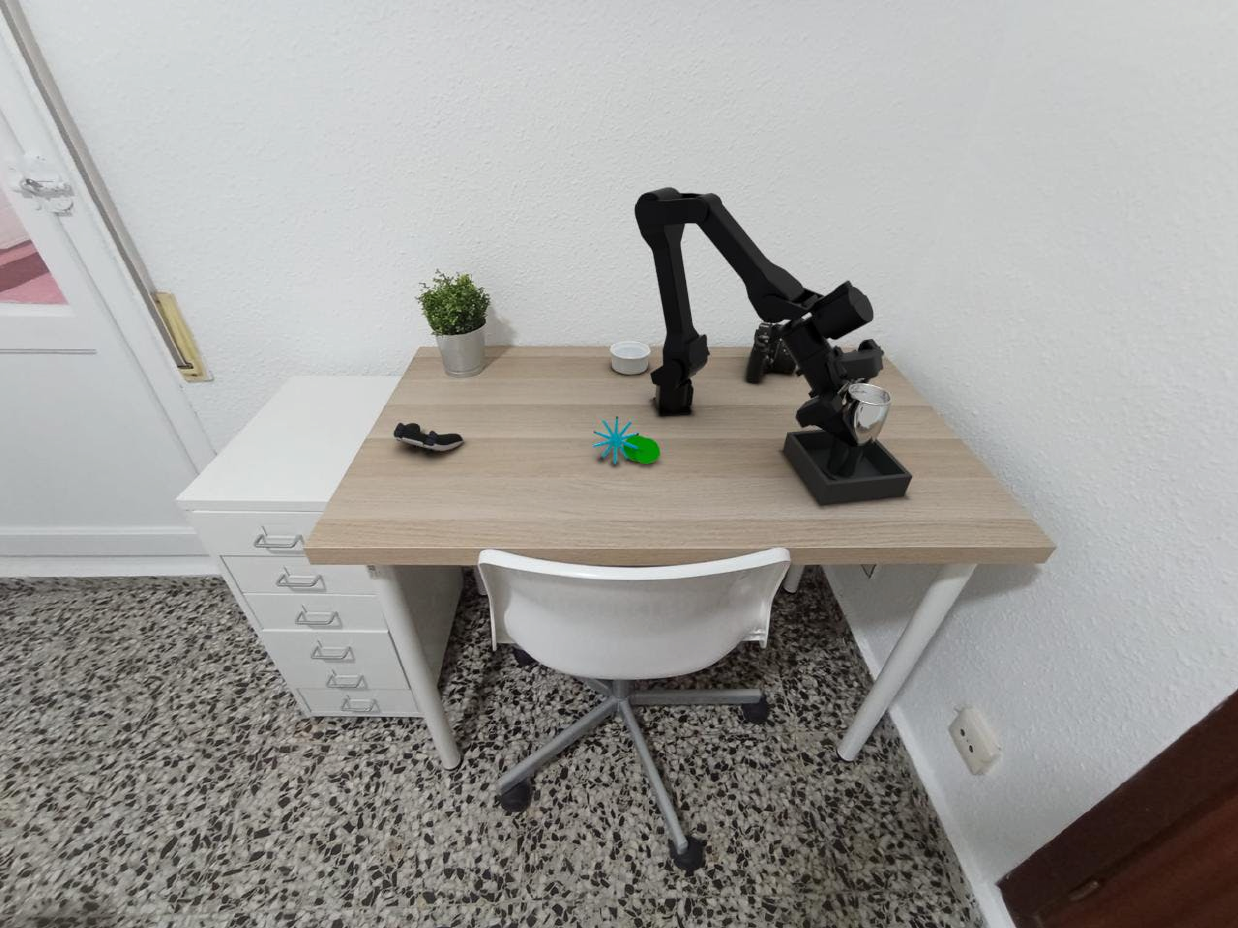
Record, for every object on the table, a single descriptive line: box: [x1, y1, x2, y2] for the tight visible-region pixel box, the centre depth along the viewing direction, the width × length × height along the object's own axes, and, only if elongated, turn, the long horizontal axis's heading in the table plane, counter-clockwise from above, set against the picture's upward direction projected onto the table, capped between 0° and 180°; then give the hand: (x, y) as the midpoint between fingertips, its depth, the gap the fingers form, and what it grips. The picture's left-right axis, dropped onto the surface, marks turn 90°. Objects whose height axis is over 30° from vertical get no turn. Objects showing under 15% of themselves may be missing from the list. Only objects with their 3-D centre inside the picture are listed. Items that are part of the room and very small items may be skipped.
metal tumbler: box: [822, 383, 893, 480], centre depth 88 cm, size 7×7×15 cm
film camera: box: [745, 320, 797, 384], centre depth 120 cm, size 18×12×10 cm
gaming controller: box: [392, 422, 464, 454], centre depth 95 cm, size 11×4×7 cm
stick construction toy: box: [592, 415, 661, 465], centre depth 96 cm, size 12×7×8 cm
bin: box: [782, 428, 914, 506], centre depth 92 cm, size 15×15×4 cm
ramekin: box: [609, 340, 651, 376], centre depth 121 cm, size 9×9×4 cm
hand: (862, 436), depth 88 cm, fingers closed on metal tumbler, 7 cm apart
